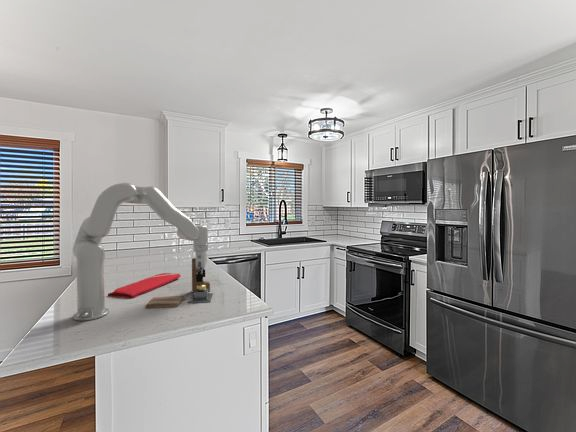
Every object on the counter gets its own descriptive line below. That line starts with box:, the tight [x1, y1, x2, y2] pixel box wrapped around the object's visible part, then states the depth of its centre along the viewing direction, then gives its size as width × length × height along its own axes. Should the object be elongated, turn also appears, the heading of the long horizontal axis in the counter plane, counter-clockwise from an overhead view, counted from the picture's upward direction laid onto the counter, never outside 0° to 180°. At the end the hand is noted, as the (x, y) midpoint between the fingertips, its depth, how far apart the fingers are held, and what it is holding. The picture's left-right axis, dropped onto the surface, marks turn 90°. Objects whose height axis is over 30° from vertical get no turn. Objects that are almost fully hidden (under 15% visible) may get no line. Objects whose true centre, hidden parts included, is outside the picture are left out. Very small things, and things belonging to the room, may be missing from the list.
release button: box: [197, 284, 206, 291], centre depth 145 cm, size 4×4×2 cm
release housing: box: [188, 288, 214, 304], centre depth 146 cm, size 12×10×4 cm
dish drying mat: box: [107, 272, 181, 299], centre depth 167 cm, size 16×41×4 cm, turn 166°
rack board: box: [145, 295, 184, 309], centre depth 139 cm, size 11×14×2 cm
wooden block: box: [191, 257, 211, 294], centre depth 158 cm, size 9×4×18 cm, turn 113°
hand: (201, 279), depth 158 cm, fingers open, 9 cm apart
